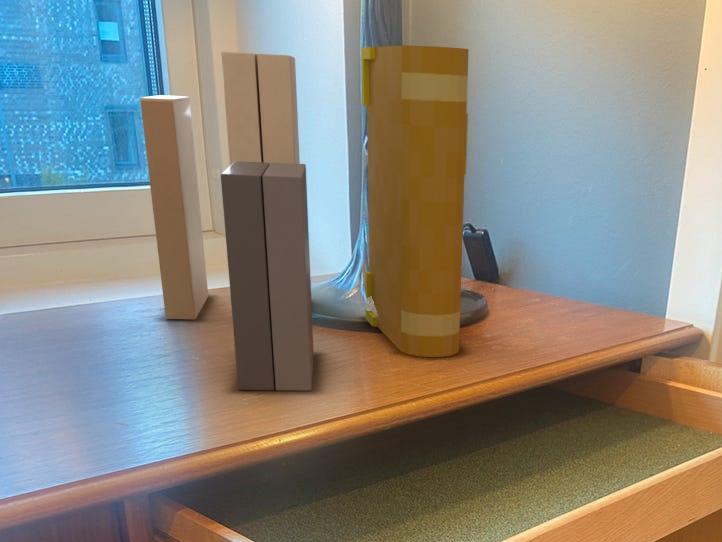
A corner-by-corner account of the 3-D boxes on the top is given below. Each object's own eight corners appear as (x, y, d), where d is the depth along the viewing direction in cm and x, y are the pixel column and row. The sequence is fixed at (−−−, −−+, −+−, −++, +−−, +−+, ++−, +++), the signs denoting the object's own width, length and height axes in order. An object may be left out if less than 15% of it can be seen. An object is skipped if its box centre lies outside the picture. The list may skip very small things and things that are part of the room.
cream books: (242, 322, 99) (221, 51, 87) (251, 295, 111) (234, 54, 99) (302, 323, 100) (290, 55, 88) (305, 296, 112) (295, 57, 100)
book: (365, 318, 103) (361, 47, 91) (425, 317, 105) (429, 51, 93) (401, 358, 90) (402, 44, 77) (470, 355, 91) (482, 49, 79)
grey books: (238, 390, 78) (220, 173, 70) (249, 353, 88) (234, 161, 80) (311, 390, 79) (301, 176, 71) (313, 354, 89) (305, 164, 81)
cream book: (165, 319, 99) (139, 97, 89) (181, 296, 109) (159, 95, 99) (195, 320, 99) (172, 99, 89) (208, 296, 110) (189, 96, 100)
